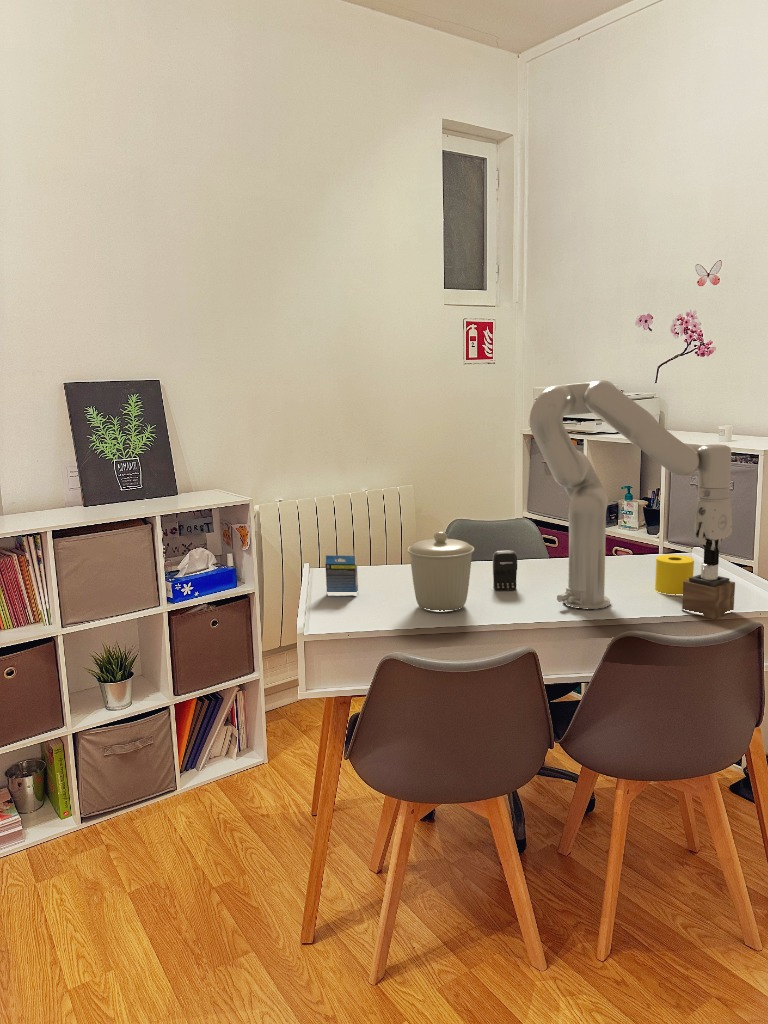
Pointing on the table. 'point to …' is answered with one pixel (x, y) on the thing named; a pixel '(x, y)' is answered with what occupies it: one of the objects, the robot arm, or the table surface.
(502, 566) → the battery charger
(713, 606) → the socket block
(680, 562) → the tape roll
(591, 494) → the robot arm
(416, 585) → the canister
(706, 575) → the peg
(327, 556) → the label tape box
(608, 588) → the table surface
